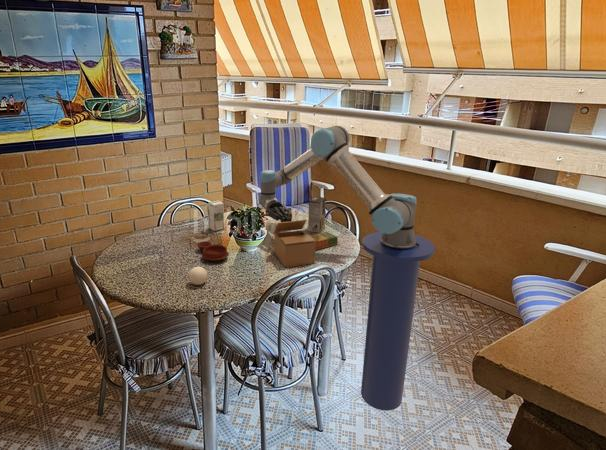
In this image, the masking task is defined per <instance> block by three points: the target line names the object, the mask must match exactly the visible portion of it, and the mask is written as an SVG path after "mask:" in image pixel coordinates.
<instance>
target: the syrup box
mask: <svg viewBox="0 0 606 450" xmlns="http://www.w3.org/2000/svg"><path fill="white" fill-rule="evenodd" d="M207 204H208V205H207V206H208V225H209V229H210V230H212V231H213V232H218V231H221V230H224V229H225V219H224V217H225V216H224V202H222V201H220V200H214V201H209V202H208V203H207Z"/></svg>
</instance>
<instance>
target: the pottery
mask: <svg viewBox="0 0 606 450" xmlns="http://www.w3.org/2000/svg"><path fill="white" fill-rule="evenodd" d="M196 246H197V248H198V249H199V250H200V251H201V252H202V253H201V257H202V258H203V259H204V260H207V261H210V262H215V263H217V262H220V261H222V260H224V259H226V258H228V257H229V255H230V254H229V251H228V249H227V248H228V247H226V246H224V245H221V244H213V245H212V243H211V241H200V242H198V243H197V244H196Z"/></svg>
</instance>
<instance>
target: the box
mask: <svg viewBox="0 0 606 450" xmlns="http://www.w3.org/2000/svg"><path fill="white" fill-rule="evenodd" d="M273 237H274V239H273V240H274V242H273V243H274V245H273V247H274V250H273V253H274V255H275V256H276V258H277V259H278V260H279V262H281V264H282V265H283V267H284V268H289V267H296V266H304V265H312V264H315V263H316V261H315V260H316V250H315V242H314V241H315V240H314V239H313V238H312V237H311V235H310V234H307V233H306V232H305V231H304V230H303V229H299V230H290V231H281V232H274V236H273Z"/></svg>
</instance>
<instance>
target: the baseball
mask: <svg viewBox="0 0 606 450" xmlns="http://www.w3.org/2000/svg"><path fill="white" fill-rule="evenodd" d="M208 276H209V274H208V271H207V270H206V269H205V268H204V267H202V266H195V267H192V268H191V269H190V270H189V272H188V279H189V282H190V283H191V284H192V285H196V286H199V285H203V284H204V283H205V282H206V281H207V279H208Z"/></svg>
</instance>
